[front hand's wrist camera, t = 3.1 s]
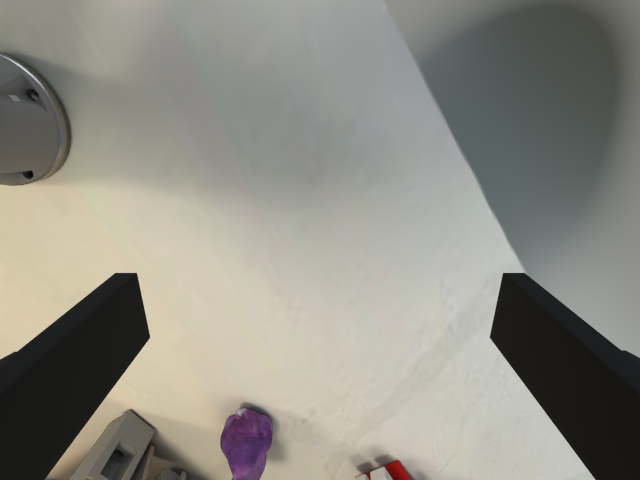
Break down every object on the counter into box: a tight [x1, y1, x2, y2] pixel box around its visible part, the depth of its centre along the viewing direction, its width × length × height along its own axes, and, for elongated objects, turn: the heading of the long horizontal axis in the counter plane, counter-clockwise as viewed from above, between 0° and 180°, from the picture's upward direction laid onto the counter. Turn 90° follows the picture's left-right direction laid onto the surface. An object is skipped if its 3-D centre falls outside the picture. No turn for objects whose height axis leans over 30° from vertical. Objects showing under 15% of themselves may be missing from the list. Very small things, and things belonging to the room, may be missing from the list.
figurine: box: [220, 408, 273, 480], centre depth 53 cm, size 9×10×15 cm
